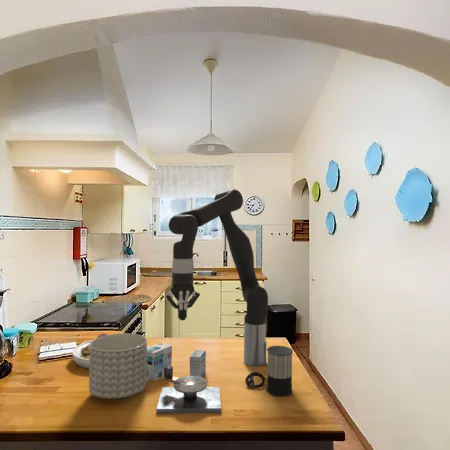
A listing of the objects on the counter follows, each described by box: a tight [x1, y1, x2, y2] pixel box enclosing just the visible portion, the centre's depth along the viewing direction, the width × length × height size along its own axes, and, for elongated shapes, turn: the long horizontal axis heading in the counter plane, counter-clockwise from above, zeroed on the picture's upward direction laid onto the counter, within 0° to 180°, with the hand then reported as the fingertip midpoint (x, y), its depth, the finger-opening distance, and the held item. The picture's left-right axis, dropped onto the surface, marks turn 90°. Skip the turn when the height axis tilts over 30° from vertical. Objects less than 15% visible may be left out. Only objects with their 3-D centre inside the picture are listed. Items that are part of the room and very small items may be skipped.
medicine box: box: [189, 349, 207, 378], centre depth 141 cm, size 8×4×9 cm, turn 168°
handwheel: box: [162, 366, 208, 393], centre depth 121 cm, size 16×11×4 cm
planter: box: [88, 332, 148, 401], centre depth 125 cm, size 19×19×18 cm
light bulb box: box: [147, 342, 173, 382], centre depth 141 cm, size 11×7×11 cm, turn 148°
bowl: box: [71, 333, 108, 369], centre depth 158 cm, size 30×30×8 cm
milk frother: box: [245, 345, 294, 398], centre depth 131 cm, size 14×16×15 cm
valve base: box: [156, 386, 222, 415], centre depth 120 cm, size 20×15×5 cm
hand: (182, 319), depth 128 cm, fingers closed
